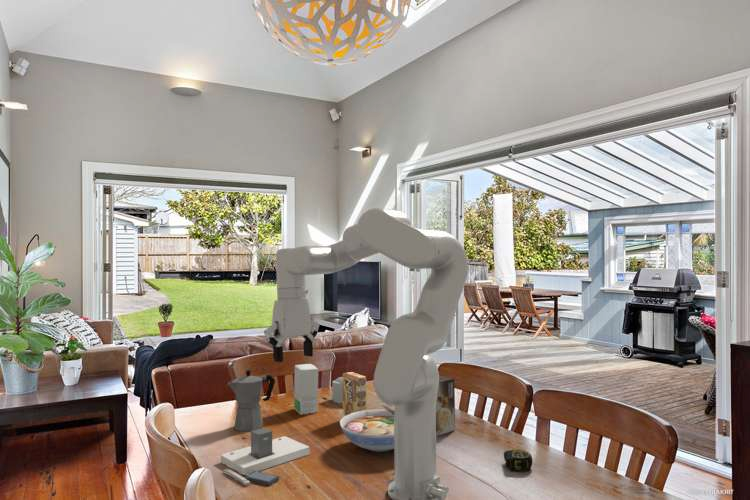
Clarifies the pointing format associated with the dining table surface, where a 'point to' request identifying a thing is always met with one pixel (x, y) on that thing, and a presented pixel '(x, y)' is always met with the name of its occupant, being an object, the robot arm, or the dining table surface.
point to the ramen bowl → (370, 429)
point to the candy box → (354, 393)
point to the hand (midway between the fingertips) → (293, 358)
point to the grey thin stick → (237, 476)
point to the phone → (262, 478)
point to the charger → (261, 443)
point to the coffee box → (445, 406)
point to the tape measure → (518, 460)
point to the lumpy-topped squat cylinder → (339, 390)
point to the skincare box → (306, 389)
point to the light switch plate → (281, 453)
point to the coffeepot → (250, 400)
